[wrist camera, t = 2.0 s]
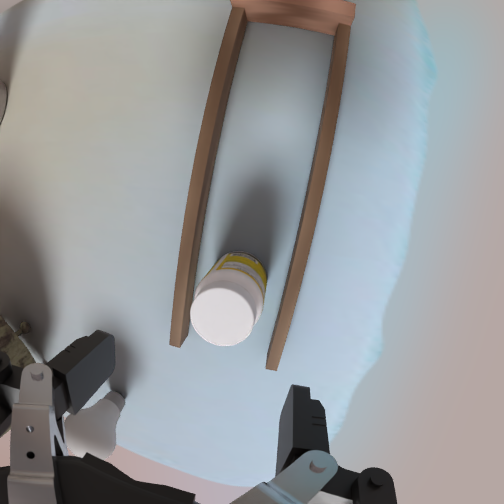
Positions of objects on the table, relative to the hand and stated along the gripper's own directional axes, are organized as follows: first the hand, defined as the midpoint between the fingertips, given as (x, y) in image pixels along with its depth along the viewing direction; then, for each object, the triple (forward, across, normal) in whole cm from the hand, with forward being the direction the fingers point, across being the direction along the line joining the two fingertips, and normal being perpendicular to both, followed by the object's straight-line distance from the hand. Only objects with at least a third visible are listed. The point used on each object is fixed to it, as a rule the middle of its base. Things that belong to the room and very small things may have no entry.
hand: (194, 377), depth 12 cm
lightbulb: (+15, +12, +19) cm, 27 cm away
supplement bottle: (+15, 0, 0) cm, 15 cm away
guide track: (+14, 0, -8) cm, 16 cm away
